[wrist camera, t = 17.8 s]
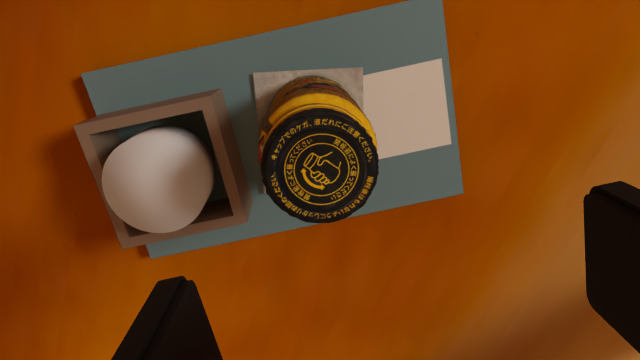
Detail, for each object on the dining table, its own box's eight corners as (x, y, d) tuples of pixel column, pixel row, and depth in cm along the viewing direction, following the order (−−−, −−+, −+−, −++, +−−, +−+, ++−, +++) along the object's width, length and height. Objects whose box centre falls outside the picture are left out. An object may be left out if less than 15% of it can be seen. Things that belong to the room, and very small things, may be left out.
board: (458, 187, 34) (483, 213, 29) (155, 251, 35) (132, 286, 30) (436, -6, 29) (461, -13, 25) (89, 72, 30) (49, 79, 25)
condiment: (362, 66, 29) (401, 89, 18) (364, 186, 32) (398, 271, 21) (253, 72, 29) (222, 98, 18) (264, 191, 32) (243, 280, 21)
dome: (227, 202, 30) (219, 221, 27) (141, 220, 30) (122, 242, 27) (201, 115, 28) (188, 126, 25) (109, 135, 28) (85, 148, 25)
